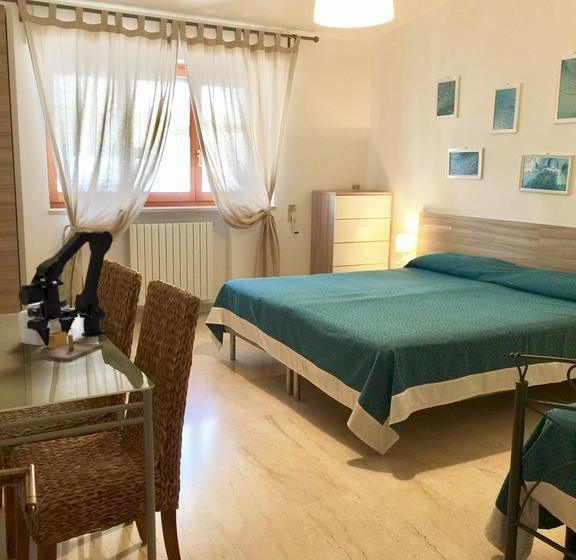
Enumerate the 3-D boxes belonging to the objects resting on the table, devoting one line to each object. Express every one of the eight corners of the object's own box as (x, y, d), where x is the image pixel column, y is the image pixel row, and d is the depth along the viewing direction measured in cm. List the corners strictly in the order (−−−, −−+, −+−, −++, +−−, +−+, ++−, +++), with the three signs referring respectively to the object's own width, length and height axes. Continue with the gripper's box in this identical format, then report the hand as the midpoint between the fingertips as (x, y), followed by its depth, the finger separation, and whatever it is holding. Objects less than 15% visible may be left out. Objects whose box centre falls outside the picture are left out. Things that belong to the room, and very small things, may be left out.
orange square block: (56, 342, 219) (54, 330, 218) (67, 343, 217) (66, 331, 216) (44, 346, 214) (43, 334, 213) (56, 348, 212) (54, 336, 211)
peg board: (75, 344, 216) (73, 327, 214) (101, 347, 211) (100, 330, 210) (40, 358, 201) (38, 340, 200) (68, 361, 196) (66, 343, 195)
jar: (73, 325, 241) (70, 296, 239) (69, 331, 233) (66, 300, 231) (49, 327, 240) (46, 297, 238) (45, 332, 232) (41, 302, 230)
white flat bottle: (19, 343, 219) (15, 310, 217) (29, 340, 223) (25, 307, 221) (38, 346, 214) (34, 312, 212) (48, 343, 218) (44, 310, 216)
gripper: (53, 292, 224) (58, 333, 227) (12, 304, 207) (18, 347, 210) (76, 294, 219) (81, 335, 222) (36, 306, 203) (42, 350, 206)
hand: (55, 342), depth 215 cm, fingers open, 8 cm apart
